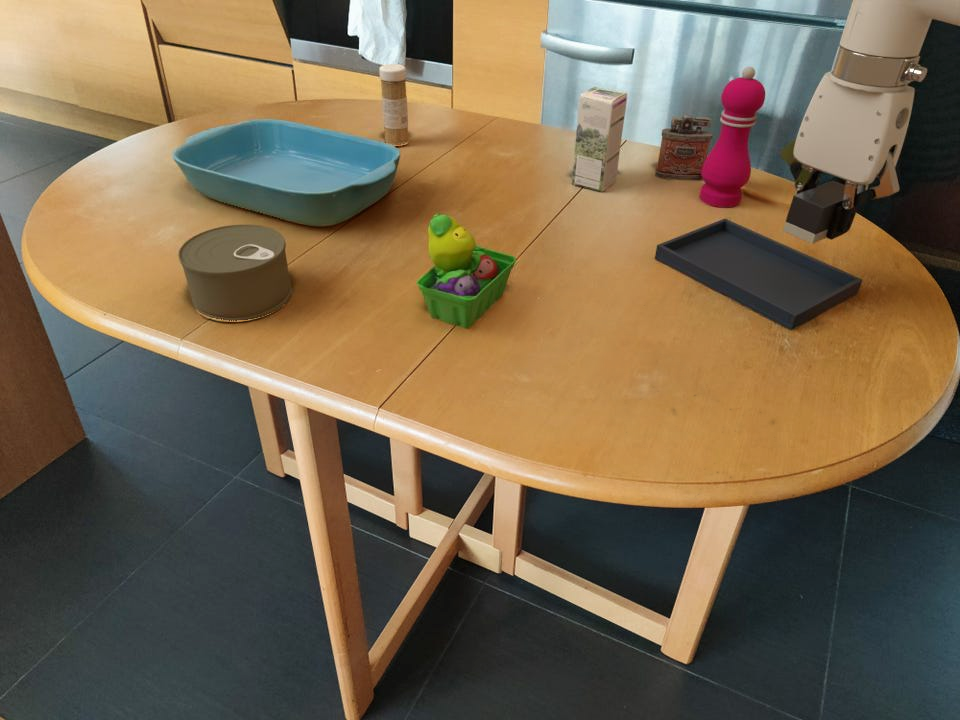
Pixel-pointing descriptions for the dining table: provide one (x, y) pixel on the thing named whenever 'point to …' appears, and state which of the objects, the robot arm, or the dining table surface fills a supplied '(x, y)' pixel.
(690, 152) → the lighter
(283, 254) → the can
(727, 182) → the pepper mill
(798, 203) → the eraser
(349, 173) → the casserole dish
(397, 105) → the sprinkles bottle
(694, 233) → the tray
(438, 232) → the fruit basket
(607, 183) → the syrup box
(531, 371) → the dining table surface
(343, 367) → the dining table surface
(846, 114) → the robot arm
